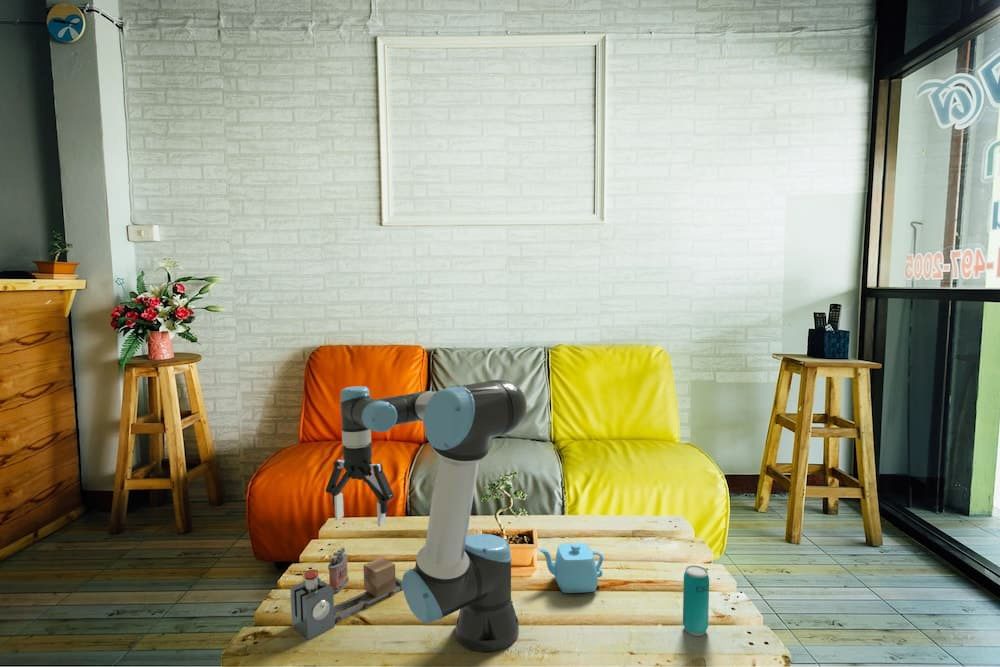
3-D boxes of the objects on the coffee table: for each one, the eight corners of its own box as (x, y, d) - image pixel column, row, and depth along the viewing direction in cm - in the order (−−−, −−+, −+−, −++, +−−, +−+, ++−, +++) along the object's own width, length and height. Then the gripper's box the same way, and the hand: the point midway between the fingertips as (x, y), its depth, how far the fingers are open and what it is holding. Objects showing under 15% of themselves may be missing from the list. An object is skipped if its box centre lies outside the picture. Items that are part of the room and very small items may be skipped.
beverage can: (713, 635, 134) (714, 574, 133) (692, 639, 133) (693, 578, 131) (698, 621, 140) (699, 563, 139) (677, 625, 138) (678, 566, 137)
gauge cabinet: (335, 627, 139) (334, 588, 138) (308, 640, 134) (307, 600, 133) (318, 614, 145) (316, 576, 144) (292, 626, 140) (290, 587, 139)
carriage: (395, 588, 153) (395, 564, 153) (377, 597, 149) (376, 572, 149) (382, 580, 158) (382, 556, 157) (364, 589, 153) (363, 564, 153)
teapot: (535, 574, 163) (535, 536, 162) (597, 572, 164) (597, 534, 163) (541, 599, 151) (541, 557, 150) (608, 596, 152) (608, 554, 151)
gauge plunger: (321, 599, 139) (320, 572, 138) (309, 604, 137) (308, 577, 136) (315, 594, 141) (313, 568, 141) (302, 599, 139) (301, 573, 138)
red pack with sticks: (337, 594, 154) (336, 559, 153) (326, 593, 154) (324, 558, 153) (351, 579, 162) (350, 545, 161) (340, 578, 162) (339, 544, 161)
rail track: (404, 589, 156) (404, 582, 156) (306, 638, 135) (305, 630, 135) (392, 581, 160) (391, 575, 160) (294, 627, 139) (293, 620, 139)
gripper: (404, 444, 151) (407, 521, 153) (327, 437, 160) (331, 510, 162) (389, 452, 144) (392, 533, 146) (310, 444, 153) (313, 520, 155)
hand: (360, 521), depth 154 cm, fingers open, 13 cm apart
